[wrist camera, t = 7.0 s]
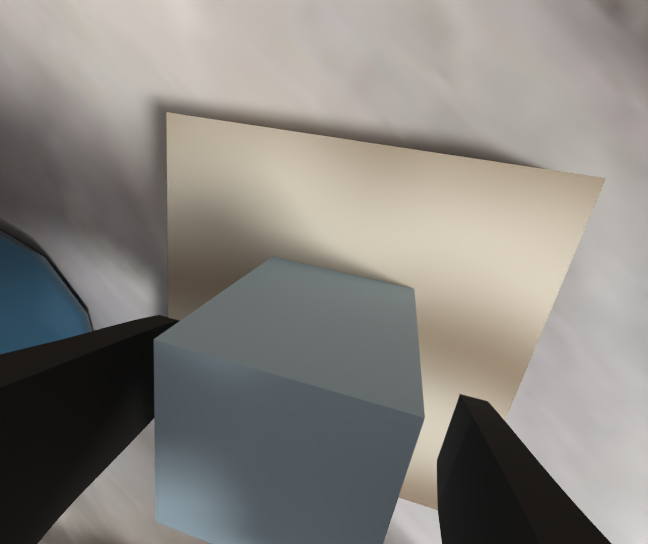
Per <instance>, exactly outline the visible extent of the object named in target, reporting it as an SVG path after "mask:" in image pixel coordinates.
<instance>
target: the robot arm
mask: <svg viewBox="0 0 648 544" xmlns="http://www.w3.org/2000/svg"><path fill="white" fill-rule="evenodd" d="M179 321H180V320H176V319H172V318H168V317H164V316H161V315H158V316H152V317H147V318H142V319H138V320H134V321H129V322H126V323H122V324H118V325H114V326H110V327H106V328H103V329H99V330H95V331H91V332H88V333H84V334H80V335H76V336H73V337H69V338H65V339H61V340H57V341H53V342H49V343H45V344H41V345H37V346H33V347H28V348H24V349H20V350H16V351H12V352H8V353H4V354H0V544H37V543H38V542H39V541H40V540H41V539H42V537H43V536H44V535H45V534H46V533H47V531H48V530H49V529H50V528H51V527H52V525H53V524H54V523H55V522H56V521H57V519H58V518H59V517H60V516H61V515H62V514H63V513H64V512H65V511H66V509H67V508H68V507H69V506H70V505H71V504H72V503H73V502H74V501H75V500H76V498H77V497H78V496H79V495H80V494H81V493H82V492H83V491H84V490H85V489H86V488H87V487H88V486H89V485H90V484H91V483H92V482H93V481H94V480H95V479H96V478H97V477H98V476H99V475H100V474H101V473H102V472H103V471H104V470H105V469H106V468H107V467H108V465H109V464H110V463H111V462H112V461H113V460H114V459H115V458H116V457H117V456H118V455H119V454H120V453H121V452H122V451H123V450H124V449H125V448H126V447H127V446H128V445H129V444H130V443H131V442H132V441H133V440H134V439H135V438H136V437H137V435H138V434H139V433H140V432H141V431H142V430H143V429H144V428H145V427H146V426H147V425H148V424H149V423H150V422H151V421H152V420H153V419H154V339H155V338H156V337H158V336H159V335H161V334H162V333H163V332H165V331H166V330H168V329H169V328H171V327H172V326H174V325H175V324H176V323H178V322H179ZM437 503H438V515H439V523H440V530H441V538H442V544H611V543H610V542H609V541H608V539H607V538H606V537H605V536H604V535H603V534H602V533H601V532H600V531H599V530H598V529H597V528H596V526H595V525H594V524H593V523H592V522H591V521H590V520H589V519H588V518H587V517H586V516H585V515H584V513H583V512H582V511H581V510H580V509H579V508H578V507H577V506H576V504H575V503H574V502H573V501H572V500H571V499H570V498H569V497H568V495H567V494H566V493H565V492H564V491H563V490H562V489H561V487H560V486H559V485H558V484H557V483H556V482H555V480H554V479H553V478H552V477H551V476H550V475H549V473H548V472H547V471H546V470H545V469H544V468H543V466H542V465H541V464H540V463H539V462H538V460H537V459H536V458H535V457H534V456H533V454H532V453H531V452H530V451H529V450H528V448H527V447H526V446H525V445H524V444H523V442H522V441H521V440H520V439H519V438H518V436H517V435H516V434H515V433H514V431H513V430H512V429H511V428H510V427H509V425H508V424H507V423H506V422H505V421H504V419H503V418H502V417H501V416H500V415H499V413H498V412H497V411H496V410H495V409H494V408H493V406H492V405H491V404H490V403H489V402H488V401H485V400H481V399H477V398H474V397H470V396H466V395H462V394H460V395H459V398H458V401H457V404H456V407H455V410H454V412H453V415H452V418H451V421H450V424H449V427H448V430H447V433H446V435H445V438H444V441H443V444H442V447H441V450H440V453H439V456H438V458H437Z"/></svg>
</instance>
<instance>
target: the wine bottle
mask: <svg viewBox="0 0 648 544" xmlns="http://www.w3.org/2000/svg"><path fill="white" fill-rule="evenodd" d="M91 331H92V328H91V324H90V320H89V317H88V313H87V312H86V311H85V309H84V308H83V307H82V305H81V304H80V303H79V301H78V300H77V299H76V297H75V296H74V295H73V293H72V292H71V291H70V290H69V288H68V287H67V286H66V284H65V283H64V282H63V280H62V279H61V278H60V276H59V275H58V274H57V272H56V271H55V270H54V269H53V267H52V266H51V265H50V263H49V262H48V261H47V259H46V258H45V257H44V256H43V255H41V254H39V253H38V252H36V251H34V250H33V249H31V248H29V247H28V246H26V245H24V244H23V243H21V242H19V241H18V240H16V239H14V238H13V237H11V236H9V235H8V234H6V233H4V232H3V231H1V230H0V354H4V353H8V352H12V351H16V350H20V349H24V348H28V347H33V346H37V345H41V344H45V343H49V342H53V341H57V340H61V339H65V338H69V337H73V336H76V335H80V334H84V333H88V332H91Z"/></svg>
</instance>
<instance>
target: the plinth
mask: <svg viewBox="0 0 648 544" xmlns="http://www.w3.org/2000/svg"><path fill="white" fill-rule="evenodd" d="M166 122H167V249H168V318H172V319H176V320H180V321H181V320H182V319H184V318H185V317H186V316H188V315H189V314H191V313H192V312H194V311H195V310H196V309H198V308H199V307H201V306H202V305H204V304H205V303H206V302H208V301H209V300H211V299H212V298H214V297H215V296H216V295H218V294H219V293H221V292H222V291H224V290H225V289H227V288H228V287H229V286H231V285H232V284H234V283H235V282H237V281H238V280H239V279H241V278H242V277H244V276H245V275H247V274H248V273H249V272H251V271H252V270H254V269H255V268H257V267H258V266H259V265H261V264H262V263H264V262H265V261H267V260H268V259H270V258H271V257H272V256H274V257H279V258H283V259H287V260H292V261H296V262H300V263H305V264H309V265H313V266H318V267H322V268H326V269H331V270H335V271H339V272H344V273H348V274H352V275H357V276H361V277H365V278H370V279H374V280H378V281H383V282H387V283H391V284H396V285H400V286H404V287H409V288H413V289H414V290H415V303H416V315H417V327H418V339H419V352H420V364H421V376H422V388H423V401H424V413H425V419H424V422H423V425H422V428H421V431H420V434H419V437H418V440H417V443H416V446H415V449H414V452H413V455H412V458H411V461H410V464H409V467H408V470H407V473H406V476H405V479H404V482H403V485H402V488H401V491H400V494H399V498H402V499H405V500H408V501H411V502H414V503H418V504H421V505H424V506H427V507H430V508H433V509H436V510H438V503H437V458H438V456H439V453H440V450H441V447H442V444H443V441H444V438H445V435H446V433H447V430H448V427H449V424H450V421H451V418H452V415H453V412H454V410H455V407H456V404H457V401H458V398H459V395H460V394H462V395H466V396H470V397H474V398H477V399H481V400H485V401H488V402H489V403H490V404H491V405H492V406H493V408H494V409H495V410H496V411H497V412H498V413H499V415H500V416H501V417H502V418H503V419H504V421H505V419H506V417H507V414H508V412H509V409H510V407H511V405H512V402H513V400H514V397H515V395H516V393H517V390H518V388H519V385H520V383H521V381H522V378H523V376H524V373H525V371H526V369H527V366H528V364H529V361H530V359H531V357H532V354H533V352H534V349H535V347H536V345H537V342H538V340H539V337H540V335H541V333H542V330H543V328H544V325H545V323H546V321H547V318H548V316H549V313H550V311H551V309H552V306H553V304H554V301H555V299H556V297H557V294H558V292H559V289H560V287H561V285H562V282H563V280H564V277H565V275H566V273H567V270H568V268H569V265H570V263H571V261H572V258H573V256H574V253H575V251H576V249H577V246H578V244H579V241H580V239H581V237H582V234H583V232H584V229H585V227H586V225H587V222H588V220H589V217H590V215H591V213H592V210H593V208H594V205H595V203H596V201H597V198H598V196H599V193H600V191H601V188H602V186H603V184H604V181H605V179H606V178H601V177H594V176H587V175H581V174H574V173H568V172H561V171H554V170H548V169H541V168H534V167H528V166H521V165H514V164H508V163H501V162H494V161H488V160H481V159H474V158H468V157H461V156H455V155H448V154H441V153H435V152H428V151H421V150H415V149H408V148H401V147H395V146H388V145H381V144H375V143H368V142H361V141H355V140H348V139H341V138H335V137H328V136H322V135H315V134H308V133H302V132H295V131H288V130H282V129H275V128H268V127H262V126H255V125H248V124H242V123H235V122H228V121H222V120H215V119H209V118H202V117H195V116H189V115H182V114H175V113H169V112H166Z"/></svg>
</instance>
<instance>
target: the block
mask: <svg viewBox="0 0 648 544" xmlns="http://www.w3.org/2000/svg"><path fill="white" fill-rule="evenodd" d="M424 419H425V413H424V401H423V388H422V376H421V364H420V352H419V339H418V327H417V315H416V303H415V290H414V289H413V288H409V287H404V286H400V285H396V284H391V283H387V282H383V281H378V280H374V279H370V278H365V277H361V276H357V275H352V274H348V273H344V272H339V271H335V270H331V269H326V268H322V267H318V266H313V265H309V264H305V263H300V262H296V261H292V260H287V259H283V258H279V257H274V256H272V257H271V258H270V259H268V260H267V261H265V262H264V263H262V264H261V265H259V266H258V267H257V268H255V269H254V270H252V271H251V272H249V273H248V274H247V275H245V276H244V277H242V278H241V279H239V280H238V281H237V282H235V283H234V284H232V285H231V286H229V287H228V288H227V289H225V290H224V291H222V292H221V293H219V294H218V295H216V296H215V297H214V298H212V299H211V300H209V301H208V302H206V303H205V304H204V305H202V306H201V307H199V308H198V309H196V310H195V311H194V312H192V313H191V314H189V315H188V316H186V317H185V318H184V319H182V320H181V321H179V322H178V323H176V324H175V325H174V326H172V327H171V328H169V329H168V330H166V331H165V332H163V333H162V334H161V335H159V336H158V337H156V338H155V339H154V421H155V519H156V522H157V523H160V524H162V525H165V526H168V527H170V528H173V529H175V530H178V531H180V532H183V533H186V534H188V535H191V536H193V537H196V538H199V539H201V540H204V541H206V542H209V543H211V544H383V542H384V539H385V536H386V533H387V530H388V527H389V524H390V521H391V518H392V515H393V512H394V509H395V506H396V503H397V500H398V497H399V494H400V491H401V488H402V485H403V482H404V479H405V476H406V473H407V470H408V467H409V464H410V461H411V458H412V455H413V452H414V449H415V446H416V443H417V440H418V437H419V434H420V431H421V428H422V425H423V422H424Z"/></svg>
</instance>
